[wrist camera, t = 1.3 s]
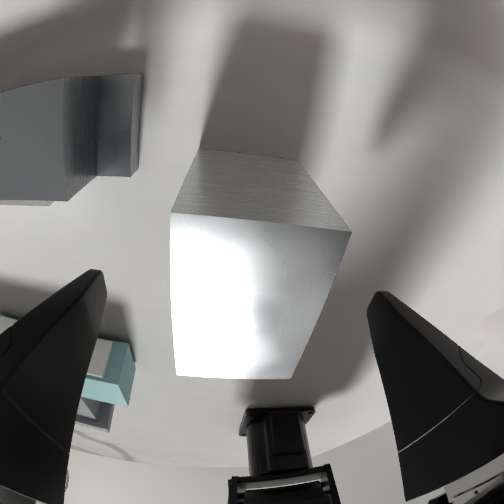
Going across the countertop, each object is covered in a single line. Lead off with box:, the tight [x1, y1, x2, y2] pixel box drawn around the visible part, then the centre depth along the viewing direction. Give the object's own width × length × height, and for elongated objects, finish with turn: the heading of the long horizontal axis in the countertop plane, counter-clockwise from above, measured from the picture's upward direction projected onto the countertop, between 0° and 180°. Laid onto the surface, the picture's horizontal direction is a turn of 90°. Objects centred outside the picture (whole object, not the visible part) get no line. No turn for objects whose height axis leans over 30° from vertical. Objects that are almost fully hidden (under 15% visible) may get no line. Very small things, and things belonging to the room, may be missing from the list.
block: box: [170, 149, 352, 379], centre depth 10 cm, size 6×4×6 cm, turn 171°
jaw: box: [0, 315, 136, 432], centre depth 17 cm, size 11×12×3 cm
